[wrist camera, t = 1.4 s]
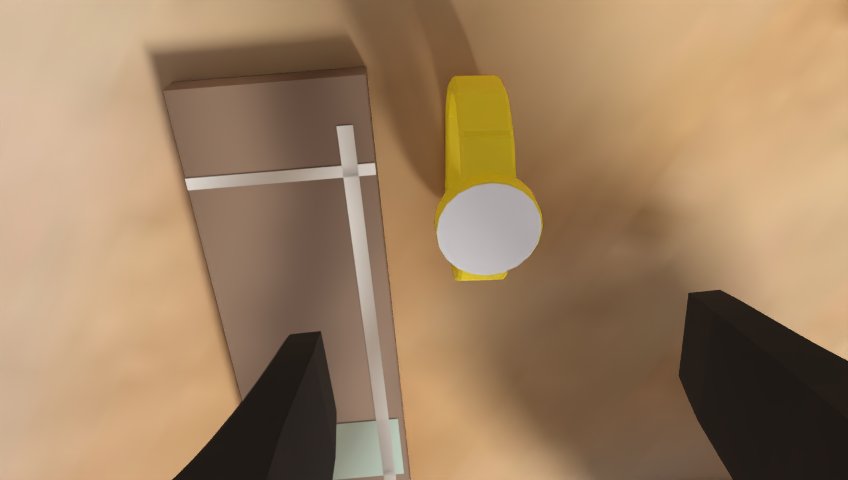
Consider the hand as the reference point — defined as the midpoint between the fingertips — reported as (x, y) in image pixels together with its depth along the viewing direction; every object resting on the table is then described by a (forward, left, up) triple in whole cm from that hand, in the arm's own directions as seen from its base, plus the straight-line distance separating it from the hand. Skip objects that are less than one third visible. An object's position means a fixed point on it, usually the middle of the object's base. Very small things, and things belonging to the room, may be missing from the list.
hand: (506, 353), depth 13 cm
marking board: (+6, +7, -10) cm, 14 cm away
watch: (0, 0, -11) cm, 11 cm away
